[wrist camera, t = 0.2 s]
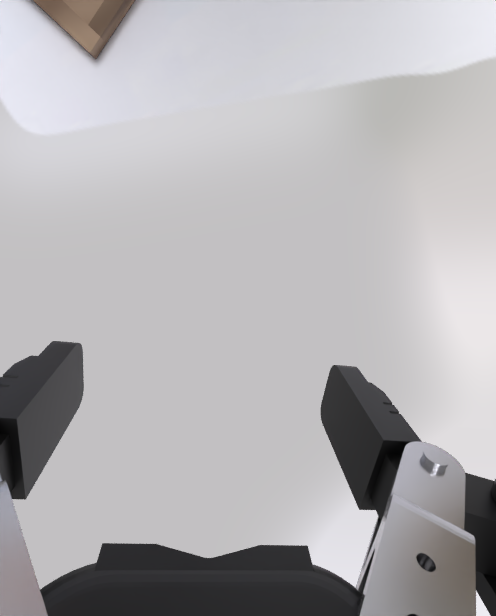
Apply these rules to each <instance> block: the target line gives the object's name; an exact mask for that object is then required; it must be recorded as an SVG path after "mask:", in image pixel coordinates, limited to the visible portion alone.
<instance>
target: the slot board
mask: <svg viewBox="0 0 496 616" xmlns="http://www.w3.org/2000/svg"><path fill="white" fill-rule="evenodd" d="M33 1H34V2H35V3H36V4H37V5H39V6H40V7H41V8H42V9H43V10H44V11H45V12H46V13H47V14H48V15H49V16H50V17H51V18H52V19H53V20H55V21H56V22H57V23H58V24H59V25H60V26H61V27H62V28H63V29H64V30H65V31H66V32H67V33H68V34H70V35H71V36H72V37H73V38H74V39H75V40H76V41H77V42H78V43H79V44H80V45H81V46H82V47H83V48H85V49H86V50H87V51H88V52H89V53H90V54H91V55H92V56H93V57H94V58H95V59H96V58H97V57H98V55H99V54H100V52H101V51H102V49H103V48H104V46H105V45H106V43H107V42H108V40H109V39H110V37H111V36H112V34H113V33H114V31H115V30H116V28H117V27H118V25H119V24H120V22H121V21H122V19H123V18H124V16H125V15H126V13H127V12H128V10H129V9H130V7H131V6H132V4H133V3H134V1H135V0H33Z"/></svg>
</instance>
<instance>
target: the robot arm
mask: <svg viewBox="0 0 496 616" xmlns="http://www.w3.org/2000/svg"><path fill="white" fill-rule="evenodd" d="M83 388H84V384H83V351H82V345H81V344H80V343H72V342H60V341H53V342H51V343H50V344H49V345H48V346H47V347H46V348H45V350H44V351H43V352H42V353H41V354H40V355H39V356H29V357H28V358H25V359H24V360H21V361H19V362H17V363H15V364H14V365H13V366H12V367H11V368H10V369H9V370H7V372H5V374H3V377H0V616H476V590H477V592H478V594H479V596H480V598H481V599H482V601H483V603H484V605H485V606H486V608H487V610H488V611H489V613H490V615H491V616H496V479H495V481H492V480H488V479H485V478H481V477H478V476H474V475H471V474H468V473H465V471H464V469H463V467H462V466H461V464H460V463H459V462H458V461H457V460H456V459H455V458H454V457H453V456H452V455H450V454H449V453H448V452H446V451H444V450H443V449H441V448H439V447H437V446H435V445H432V444H429V443H425V442H422V441H421V440H420V439H419V437H418V436H417V435H416V434H415V432H414V431H413V430H412V428H411V427H410V426H409V424H408V423H407V422H406V421H405V419H404V418H403V417H402V415H401V414H399V411H398V410H397V409H396V408H395V406H394V405H392V402H391V401H390V400H389V398H388V397H387V396H386V394H385V393H384V392H383V391H381V390H380V389H379V388H377V387H376V386H375V385H373V384H372V383H368V382H367V380H366V379H365V378H364V376H363V375H362V373H361V372H360V371H359V369H358V368H357V367H351V366H340V365H334V366H332V368H331V370H330V373H329V377H328V380H327V384H326V388H325V392H324V396H323V400H322V404H321V420H322V423H323V426H324V428H325V430H326V433H327V435H328V437H329V440H330V442H331V445H332V447H333V449H334V452H335V454H336V456H337V459H338V461H339V463H340V466H341V468H342V470H343V473H344V475H345V477H346V480H347V482H348V484H349V487H350V489H351V491H352V494H353V496H354V498H355V501H356V503H357V505H358V508H359V509H360V510H376V511H377V514H378V519H377V522H376V524H375V527H374V531H373V534H372V537H371V540H370V543H369V547H368V550H367V553H366V556H365V560H364V563H363V566H362V570H361V573H360V576H359V579H358V582H357V585H356V588H355V587H354V586H352V585H351V584H350V583H348V582H347V581H345V580H343V579H342V578H341V577H339V576H337V575H336V574H334V573H332V572H330V571H328V570H326V569H323V568H321V567H318V566H316V565H312V562H311V558H310V554H309V550H308V546H283V545H281V546H280V545H259V546H256V547H252V548H248V549H244V550H240V551H237V552H233V553H229V554H226V555H222V556H218V557H214V558H203V557H200V556H196V555H192V554H189V553H186V552H182V551H178V550H175V549H172V548H168V547H165V546H161V545H157V544H109V543H104V544H102V547H101V550H100V554H99V557H98V560H97V563H95V564H91V565H87V566H84V567H82V568H79V569H76V570H74V571H72V572H70V573H67V574H65V575H63V576H61V577H60V578H58V579H56V580H54V581H53V582H51V583H50V584H48V585H46V586H45V587H43V588H42V589H41V590H40V589H39V585H38V582H37V579H36V576H35V572H34V569H33V566H32V563H31V560H30V556H29V553H28V550H27V547H26V543H25V540H24V537H23V533H22V530H21V527H20V524H19V520H18V517H17V514H16V511H15V508H14V504H13V501H12V499H26V498H27V496H28V494H29V493H30V491H31V489H32V487H33V486H34V484H35V482H36V481H37V479H38V477H39V475H40V474H41V472H42V470H43V468H44V467H45V465H46V463H47V462H48V460H49V458H50V456H51V455H52V453H53V451H54V450H55V448H56V446H57V444H58V443H59V441H60V439H61V437H62V436H63V434H64V432H65V431H66V429H67V427H68V425H69V424H70V422H71V420H72V418H73V417H74V415H75V413H76V411H77V410H78V408H79V406H80V403H81V400H82V396H83Z"/></svg>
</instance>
